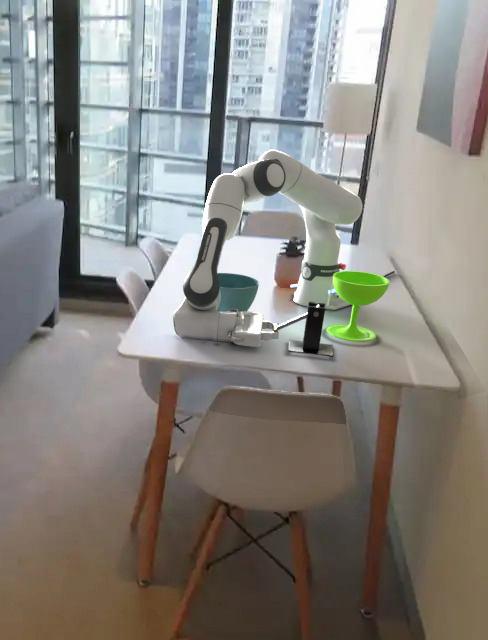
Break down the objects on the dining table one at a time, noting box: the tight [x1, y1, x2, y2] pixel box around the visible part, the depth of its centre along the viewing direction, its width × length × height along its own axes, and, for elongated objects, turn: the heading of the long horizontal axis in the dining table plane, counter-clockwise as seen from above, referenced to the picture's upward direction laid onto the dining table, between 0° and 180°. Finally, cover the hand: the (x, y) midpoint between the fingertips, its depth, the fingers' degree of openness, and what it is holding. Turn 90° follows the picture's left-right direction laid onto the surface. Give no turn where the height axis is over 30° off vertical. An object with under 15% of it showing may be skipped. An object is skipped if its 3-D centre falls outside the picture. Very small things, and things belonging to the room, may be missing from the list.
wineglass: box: [326, 270, 391, 342], centre depth 212 cm, size 16×16×18 cm
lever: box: [272, 304, 320, 332], centre depth 199 cm, size 14×6×2 cm
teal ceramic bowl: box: [217, 272, 260, 312], centre depth 224 cm, size 18×18×12 cm
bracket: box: [287, 302, 334, 357], centre depth 199 cm, size 12×9×14 cm
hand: (278, 331), depth 202 cm, fingers closed on lever, 6 cm apart
